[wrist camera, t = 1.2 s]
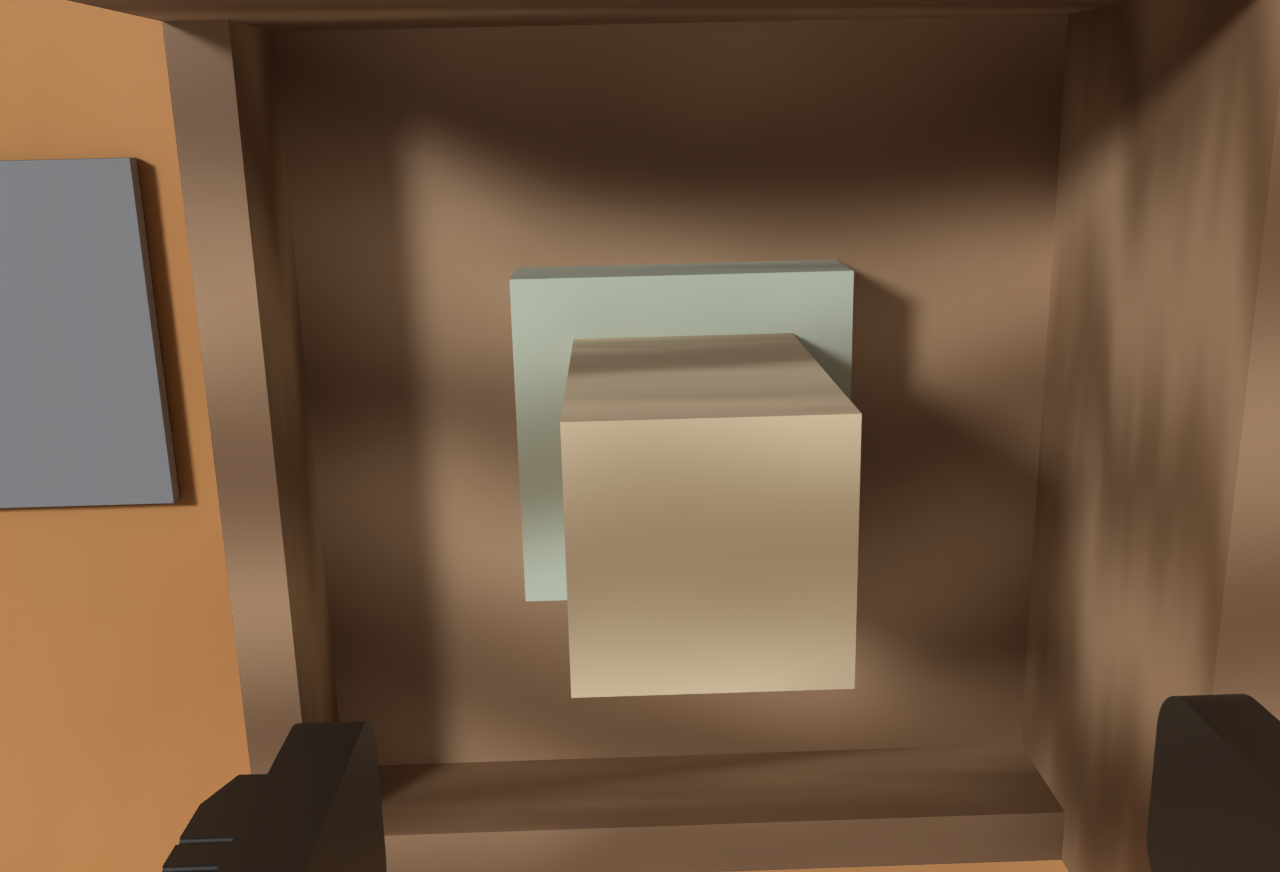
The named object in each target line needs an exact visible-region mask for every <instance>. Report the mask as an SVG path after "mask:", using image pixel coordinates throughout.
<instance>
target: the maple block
mask: <svg viewBox="0 0 1280 872" xmlns="http://www.w3.org/2000/svg"><path fill="white" fill-rule="evenodd" d="M861 424H862V413H861V412H860V411H859V410H858V409H857V408H856V407H855V405H854V404H853V403H852V402H851V401H850V400H849V398H848V397H847V396H846V395H845V394H844V393H843V392H842V390H841V389H840V388H839V387H838V386H837V385H836V383H835V382H834V381H833V380H832V379H831V378H830V376H829V375H828V374H827V373H826V372H825V371H824V370H823V368H822V367H821V366H820V365H819V364H818V363H817V361H816V360H815V359H814V358H813V357H812V356H811V355H810V353H809V352H808V351H807V350H806V349H805V348H804V346H803V345H802V344H801V343H800V342H799V341H798V339H797V338H796V337H795V336H794V335H793V334H792V333H776V334H738V335H701V336H663V337H625V338H588V339H573V345H572V351H571V357H570V363H569V370H568V376H567V382H566V388H565V395H564V401H563V407H562V413H561V420H560V433H561V457H562V482H563V506H564V531H565V555H566V580H567V605H568V629H569V654H570V678H571V698H585V697H616V696H647V695H678V694H709V693H740V692H771V691H802V690H832V689H855V655H856V616H857V578H858V539H859V501H860V463H861Z"/></svg>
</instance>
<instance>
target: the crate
mask: <svg viewBox="0 0 1280 872" xmlns="http://www.w3.org/2000/svg"><path fill="white" fill-rule="evenodd" d="M69 1H74V2H78V3H83V4H87V5H92V6H96V7H101V8H105V9H110V10H114V11H119V12H123V13H127V14H132V15H136V16H141V17H145V18H150V19H154V20H159V21H162V25H163V33H164V42H165V50H166V59H167V67H168V76H169V84H170V93H171V101H172V109H173V118H174V126H175V135H176V143H177V152H178V160H179V169H180V177H181V185H182V194H183V202H184V211H185V219H186V228H187V236H188V244H189V253H190V261H191V270H192V278H193V287H194V295H195V304H196V312H197V320H198V329H199V337H200V346H201V354H202V363H203V371H204V379H205V388H206V396H207V405H208V413H209V422H210V430H211V439H212V447H213V455H214V464H215V472H216V481H217V489H218V498H219V506H220V515H221V523H222V531H223V540H224V548H225V557H226V565H227V574H228V582H229V590H230V599H231V607H232V616H233V624H234V633H235V641H236V650H237V658H238V666H239V675H240V683H241V692H242V700H243V709H244V717H245V726H246V734H247V742H248V751H249V759H250V768H251V774H267V773H268V772H269V770H270V768H271V766H272V764H273V762H274V760H275V758H276V756H277V755H278V753H279V751H280V749H281V747H282V745H283V743H284V741H285V739H286V738H287V736H288V734H289V732H290V730H291V728H292V727H293V726H294V725H295V724H297V723H322V722H353V721H369V722H371V724H372V726H373V729H374V733H375V738H376V745H377V756H378V768H379V780H380V791H381V803H382V814H383V826H384V838H385V849H386V865H387V872H725V871H754V870H782V869H810V868H839V867H867V866H896V865H924V864H952V863H981V862H1009V861H1038V860H1062V861H1063V863H1064V864H1065V866H1066V867H1067V869H1068V871H1069V872H1152V871H1151V867H1150V863H1149V857H1148V850H1147V826H1148V815H1149V804H1150V794H1151V783H1152V772H1153V761H1154V751H1155V740H1156V729H1157V721H1158V715H1159V711H1160V708H1161V706H1162V704H1163V702H1164V701H1165V700H1166V699H1167V698H1168V697H1171V696H1187V695H1217V694H1247V695H1249V696H1251V697H1253V698H1254V699H1255V700H1256V701H1258V702H1259V703H1260V704H1261V705H1262V706H1263V707H1264V708H1266V709H1267V710H1268V711H1269V712H1270V713H1271V714H1272V715H1274V716H1275V717H1276V718H1277V719H1278V720H1279V721H1280V0H69ZM776 333H792V334H793V335H794V336H795V337H796V338H797V339H798V341H799V342H800V343H801V344H802V345H803V346H804V348H805V349H806V350H807V351H808V352H809V353H810V355H811V356H812V357H813V358H814V359H815V360H816V361H817V363H818V364H819V365H820V366H821V367H822V368H823V370H824V371H825V372H826V373H827V374H828V375H829V376H830V378H831V379H832V380H833V381H834V382H835V383H836V385H837V386H838V387H839V388H840V389H841V390H842V392H843V393H844V394H845V395H846V396H847V397H848V398H849V400H850V401H851V402H852V403H853V404H854V405H855V407H856V408H857V409H858V410H859V411H860V412H861V413H862V424H861V463H860V501H859V539H858V578H857V616H856V655H855V689H832V690H802V691H771V692H740V693H709V694H678V695H647V696H616V697H585V698H571V678H570V654H569V629H568V605H567V580H566V555H565V531H564V506H563V482H562V457H561V433H560V420H561V413H562V407H563V401H564V395H565V388H566V382H567V376H568V370H569V363H570V357H571V351H572V345H573V339H588V338H625V337H663V336H701V335H738V334H776Z"/></svg>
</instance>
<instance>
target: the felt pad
mask: <svg viewBox="0 0 1280 872" xmlns="http://www.w3.org/2000/svg"><path fill="white" fill-rule="evenodd" d="M179 498H180V497H179V489H178V481H177V473H176V466H175V458H174V450H173V442H172V434H171V426H170V418H169V411H168V403H167V395H166V387H165V379H164V371H163V363H162V356H161V348H160V340H159V332H158V324H157V316H156V308H155V301H154V293H153V285H152V277H151V269H150V261H149V253H148V246H147V238H146V230H145V222H144V214H143V206H142V198H141V191H140V183H139V175H138V167H137V159H136V158H98V159H55V160H13V161H0V508H21V507H55V506H89V505H124V504H158V503H174V502H176V501H177V500H178V499H179Z"/></svg>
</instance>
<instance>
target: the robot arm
mask: <svg viewBox="0 0 1280 872" xmlns="http://www.w3.org/2000/svg"><path fill="white" fill-rule="evenodd" d="M1147 850H1148V857H1149V863H1150V867H1151V871H1152V872H1280V721H1279V720H1278V719H1277V718H1276V717H1275V716H1274V715H1272V714H1271V713H1270V712H1269V711H1268V710H1267V709H1266V708H1264V707H1263V706H1262V705H1261V704H1260V703H1259V702H1258V701H1256V700H1255V699H1254V698H1253V697H1251V696H1249V695H1247V694H1217V695H1187V696H1171V697H1168V698H1167V699H1166V700H1165V701H1164V702H1163V704H1162V706H1161V708H1160V711H1159V715H1158V721H1157V729H1156V740H1155V751H1154V761H1153V772H1152V783H1151V794H1150V804H1149V815H1148V826H1147ZM162 872H387V865H386V849H385V838H384V826H383V814H382V803H381V791H380V780H379V768H378V756H377V745H376V738H375V733H374V729H373V726H372V724H371V722H369V721H353V722H322V723H297V724H295V725H294V726H293V727H292V728H291V730H290V732H289V734H288V736H287V738H286V739H285V741H284V743H283V745H282V747H281V749H280V751H279V753H278V755H277V756H276V758H275V760H274V762H273V764H272V766H271V768H270V770H269V772H268V773H267V774H250V775H238V776H237V777H235V778H234V779H233V780H232V781H230V782H229V783H228V784H226V785H225V786H224V787H222V788H221V789H220V790H218V791H217V792H216V793H215V794H213V795H212V796H211V797H209V798H208V799H207V800H205V801H204V802H203V803H201V804H200V806H199V807H198V809H197V811H196V812H195V814H194V815H193V817H192V819H191V820H190V822H189V824H188V825H187V827H186V829H185V830H184V832H183V834H182V835H181V837H180V843H179V845H175V847H174V849H173V850H172V852H171V853H170V855H169V857H168V858H167V860H166V862H165V863H164V865H163V871H162Z"/></svg>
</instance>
